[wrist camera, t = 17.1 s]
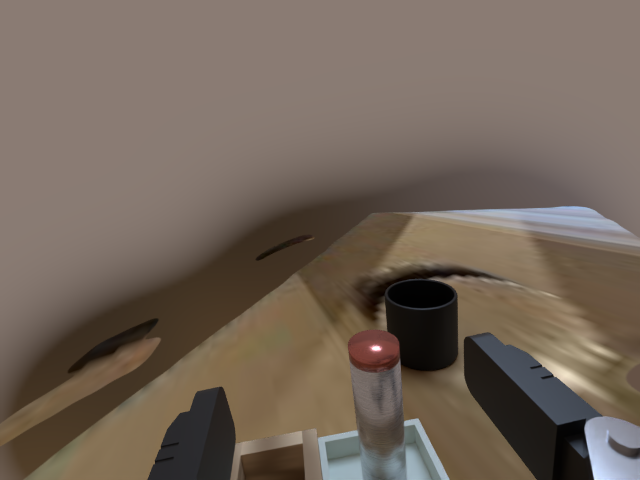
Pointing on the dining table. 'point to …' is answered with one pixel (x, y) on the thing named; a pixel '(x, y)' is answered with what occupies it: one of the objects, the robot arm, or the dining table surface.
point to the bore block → (279, 458)
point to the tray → (346, 464)
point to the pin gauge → (378, 404)
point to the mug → (423, 322)
